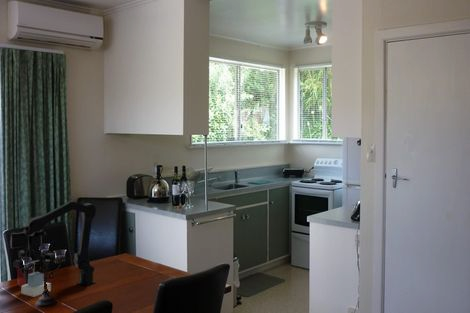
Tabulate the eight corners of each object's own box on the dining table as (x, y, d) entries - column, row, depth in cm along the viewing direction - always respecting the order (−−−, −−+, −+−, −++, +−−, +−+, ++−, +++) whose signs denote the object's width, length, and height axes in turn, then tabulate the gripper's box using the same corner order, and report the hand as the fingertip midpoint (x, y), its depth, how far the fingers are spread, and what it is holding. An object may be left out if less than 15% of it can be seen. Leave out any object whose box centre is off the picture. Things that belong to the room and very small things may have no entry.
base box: (50, 291, 216) (50, 283, 216) (33, 297, 209) (33, 289, 208) (38, 288, 221) (38, 280, 221) (21, 294, 213) (21, 285, 213)
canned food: (28, 288, 220) (28, 265, 220) (14, 287, 222) (13, 264, 222) (38, 283, 228) (38, 261, 227) (24, 282, 230) (23, 260, 229)
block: (43, 284, 215) (43, 273, 215) (33, 287, 211) (33, 276, 211) (37, 282, 218) (37, 271, 218) (27, 285, 214) (27, 274, 214)
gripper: (43, 239, 226) (44, 270, 227) (6, 246, 211) (7, 280, 212) (57, 242, 219) (57, 274, 220) (19, 250, 204) (20, 285, 205)
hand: (36, 278), depth 214 cm, fingers open, 9 cm apart
